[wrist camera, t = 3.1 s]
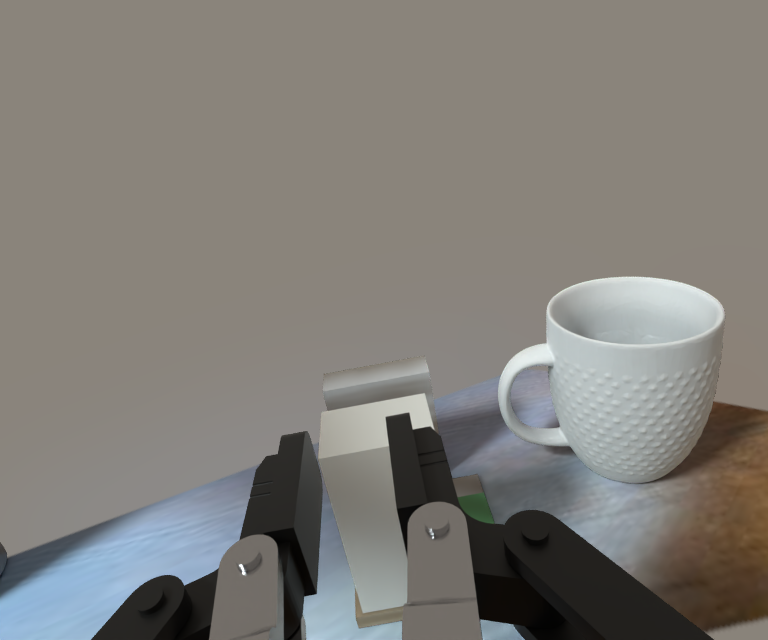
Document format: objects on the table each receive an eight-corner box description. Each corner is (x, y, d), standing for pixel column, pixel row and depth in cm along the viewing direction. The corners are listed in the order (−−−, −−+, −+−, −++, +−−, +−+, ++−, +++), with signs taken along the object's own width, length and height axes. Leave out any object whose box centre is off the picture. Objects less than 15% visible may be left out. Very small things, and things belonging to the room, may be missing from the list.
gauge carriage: (518, 584, 30) (505, 424, 25) (363, 613, 30) (318, 459, 25) (499, 531, 33) (484, 382, 28) (361, 556, 33) (321, 412, 28)
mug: (518, 520, 35) (506, 364, 30) (493, 424, 45) (481, 294, 40) (738, 499, 34) (769, 331, 28) (662, 405, 44) (674, 267, 38)
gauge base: (519, 599, 30) (509, 474, 26) (350, 629, 30) (313, 511, 26) (468, 449, 43) (455, 349, 39) (349, 471, 43) (323, 374, 39)
